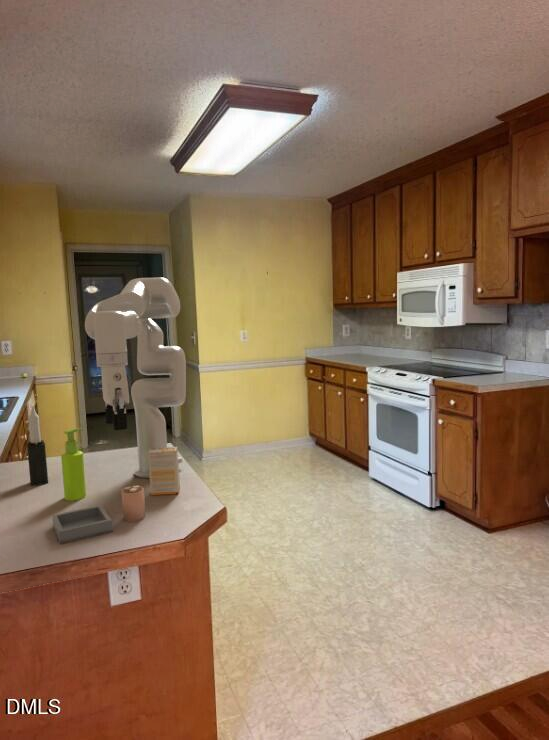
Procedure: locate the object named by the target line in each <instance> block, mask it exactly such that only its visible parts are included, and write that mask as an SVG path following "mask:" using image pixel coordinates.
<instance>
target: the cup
mask: <svg viewBox="0 0 549 740" xmlns="http://www.w3.org/2000/svg"><path fill="white" fill-rule="evenodd" d="M120 492H121V505H122V516H123V518H122V519H123V521H124V522H129V523H134V522H135V523H136V522H139V520H140V521H142V520H144V519H145V518H146V517H147V516H146V515H147V514H146V503H145V502H146V501H145V488H144V487H143V486H140V485H133V486H132V485H131V486H126V487H124V488H123V489H121V491H120ZM145 516H146V517H145ZM143 518H144V519H143Z"/></svg>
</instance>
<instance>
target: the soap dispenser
mask: <svg viewBox="0 0 549 740" xmlns="http://www.w3.org/2000/svg"><path fill="white" fill-rule="evenodd" d="M83 430H84V429H83V428H70V429H68V430H65V431H63V433H64V434H65V435H66V436H67V440H66V441H65V442H64V446H65V452H63V453H61V455H60V457H61V469H62V480H63V495H64V500H66V501H70V502H71V501H79V500H81V499H84V498H85V496H87V490H86V488H87V487H86V478H85V477H86V475H85V464H84V452H83V451H81V450H79V447H78V440H76V439H75V435H74V433H76V432H80V431H81V432H82V431H83Z"/></svg>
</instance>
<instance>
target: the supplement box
mask: <svg viewBox="0 0 549 740" xmlns="http://www.w3.org/2000/svg"><path fill="white" fill-rule="evenodd" d="M178 458H179V451H178V446H172V447H169V446H167V448H151V449H150V450H149V451H148V464H149V477H150V478H149V487H150V488H149V489H150V496H159V495H161V496H162V494H163V495H176V493H178V494H179V493H180V490H181V483H180V479H181V478H180V469H179V467H180V466H179V464H178Z"/></svg>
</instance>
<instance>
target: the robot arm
mask: <svg viewBox="0 0 549 740" xmlns="http://www.w3.org/2000/svg"><path fill="white" fill-rule="evenodd" d="M180 311H181V302H180V297H179V296H178V293H177V291H176V289H175V287H174V286H173V284H172V282H171V281H170V280H168V279H167V278H165V277H140V278H139V277H138V278H134V279H131V280H129V281H128V283H127V284H125V286H124V288H123V289H122V290H121V292H120V293H119V294H116V295H113V296H112V297H108V298H106V299H104V300H102V301H99V302H97V303H95V304H94V305H93V306H92V307H91V308H90V310H89V311H88V313H87V315H86V317H85V321H84V330H85V332H86V335H87V336H88V337H90V339H92V340H94V342H95V343H94V344H95V353H96V354H95V357H96V367H98V368H101V370H100V371H101V388H102V398H103V401H104V402H105V405H104V406H105V407H104V408H105V423H106V424H107V425H111V424H113V430H114V431H122V430H123V431H124V430H127V429H128V420H127V419H128V417H127V408H126V405H129V403H130V394H131V399H132V404H133V409H134V414H135V424H136V441H137V455H138V457H137V459H138V467H137V468H136V469H134V475H135V477H138V478H143V479H150V477H149V464H148V451H149V450H150V449H151V448H167V447H168V441H167V440H168V439H167V438H168V437H167V423H166V418H165V416H164V414H163V413H162V411H160V409H159V408H169V407H170V408H171V407H181V406H182V405H184V404H185V402H186V396H187V391H186V390H187V374H186V373H187V360H186V354H185V351H184V349H183V348H182V347H180V346H177V345H166V346H165V345H164V332H163V330H162V329H161V327H160V326H159V325H158V324H157V323H156V322H155V321H154V320H153V319H172V318H176V317H177V316H178V315H179V314H180ZM136 337H137V344H136V345H137V349H136V351H137V353H136V366H137V367H136V368H137V371H138V372H139V373H140V374H142V375H145V376H163V375H164V376H165V375H166V376H171V377H153V378H152V377H150V378H141V379H138V380H136V381H134V382H133V384H132V386H131V388H130V389H131V390H130V393H129V383H128V377H127V376H128V375H127V370H126V366H128V365H129V364H128V349H127V348H128V347H127V340H128V339H133V338H136ZM182 463H183V458H182V457H178V465H179V464H182Z"/></svg>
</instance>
